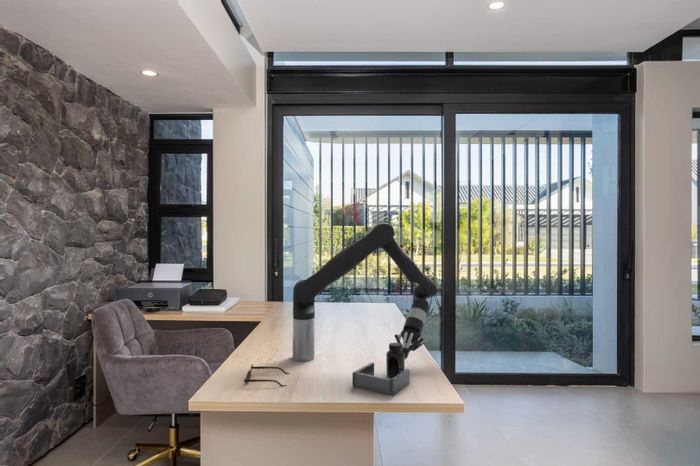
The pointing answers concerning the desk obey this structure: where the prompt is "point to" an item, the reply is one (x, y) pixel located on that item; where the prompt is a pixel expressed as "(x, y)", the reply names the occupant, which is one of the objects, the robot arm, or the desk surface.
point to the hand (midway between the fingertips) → (403, 358)
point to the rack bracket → (379, 381)
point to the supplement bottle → (395, 360)
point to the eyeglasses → (262, 380)
